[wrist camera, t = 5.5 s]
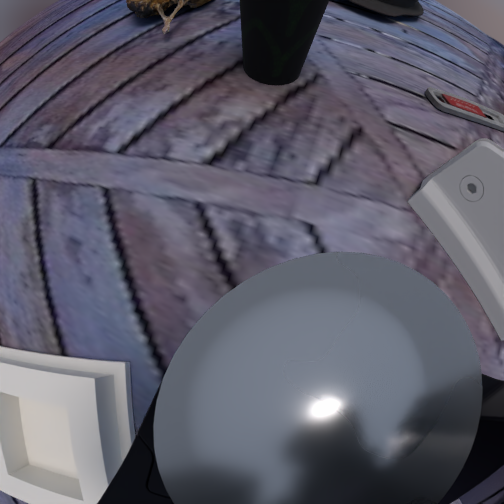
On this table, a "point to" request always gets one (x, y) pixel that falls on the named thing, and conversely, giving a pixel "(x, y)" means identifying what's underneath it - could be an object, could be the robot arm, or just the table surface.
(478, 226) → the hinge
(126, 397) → the white square hollow block
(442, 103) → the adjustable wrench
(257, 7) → the cup
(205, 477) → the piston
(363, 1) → the casserole
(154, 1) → the seed pod
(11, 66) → the table surface
